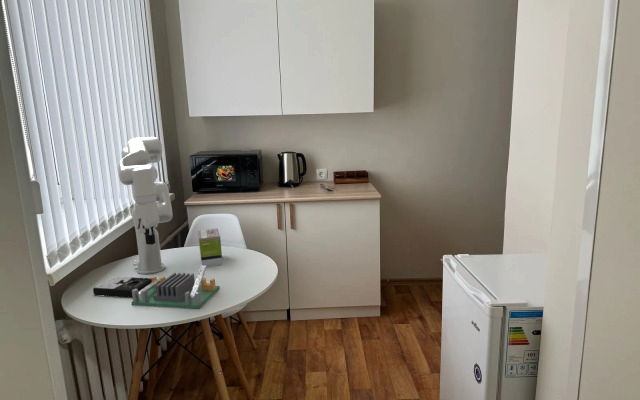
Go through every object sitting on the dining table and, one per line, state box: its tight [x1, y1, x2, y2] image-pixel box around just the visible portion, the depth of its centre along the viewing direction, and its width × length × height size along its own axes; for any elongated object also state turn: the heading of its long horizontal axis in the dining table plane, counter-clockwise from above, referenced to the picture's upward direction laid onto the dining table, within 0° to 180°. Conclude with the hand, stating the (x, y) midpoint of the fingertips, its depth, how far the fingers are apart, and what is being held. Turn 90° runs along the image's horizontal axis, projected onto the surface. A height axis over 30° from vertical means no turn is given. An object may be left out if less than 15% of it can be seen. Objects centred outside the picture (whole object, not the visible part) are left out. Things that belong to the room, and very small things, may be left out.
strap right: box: [189, 264, 208, 299], centre depth 169 cm, size 2×15×1 cm
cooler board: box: [131, 272, 221, 310], centre depth 174 cm, size 28×19×7 cm
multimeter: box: [92, 276, 152, 299], centre depth 182 cm, size 13×19×5 cm
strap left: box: [136, 278, 161, 296], centre depth 175 cm, size 2×15×1 cm, turn 169°
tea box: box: [197, 228, 223, 268], centre depth 213 cm, size 15×10×15 cm
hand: (150, 243), depth 174 cm, fingers closed
